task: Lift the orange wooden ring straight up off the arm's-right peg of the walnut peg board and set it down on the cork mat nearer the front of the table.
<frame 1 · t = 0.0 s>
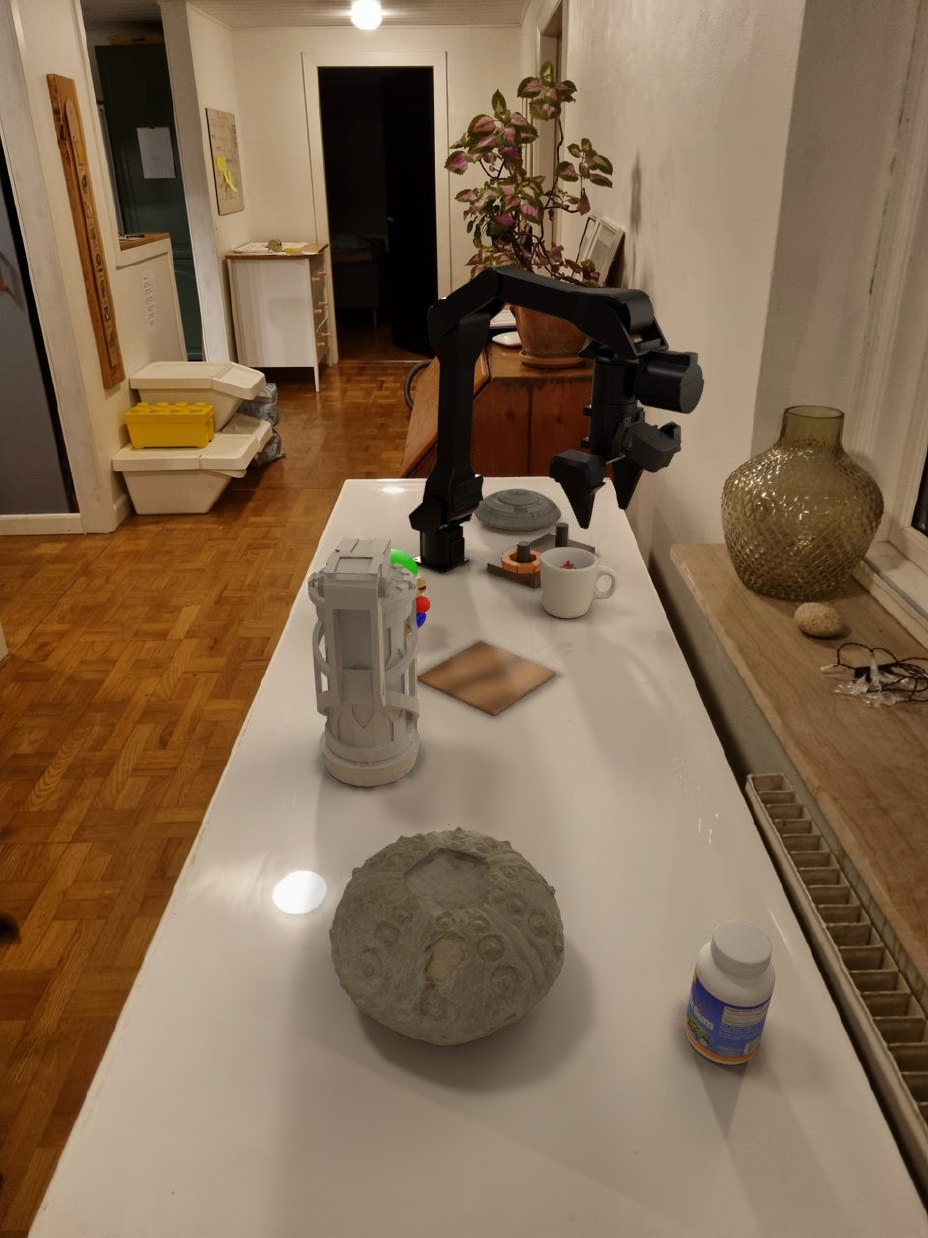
hand: (603, 518, 120), 15 cm above the table, tool pointing down, fingers open, 9 cm apart
flying saucer: (517, 521, 159), on the table
cork mat: (486, 677, 112), on the table
cup: (575, 612, 128), on the table
ring: (522, 564, 139), point 1 cm above the table, touching peg board
lantern: (369, 767, 96), on the table
pill bottle: (721, 1037, 68), on the table
peg board: (541, 563, 143), on the table
figurine: (392, 638, 121), on the table
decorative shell: (447, 975, 73), on the table
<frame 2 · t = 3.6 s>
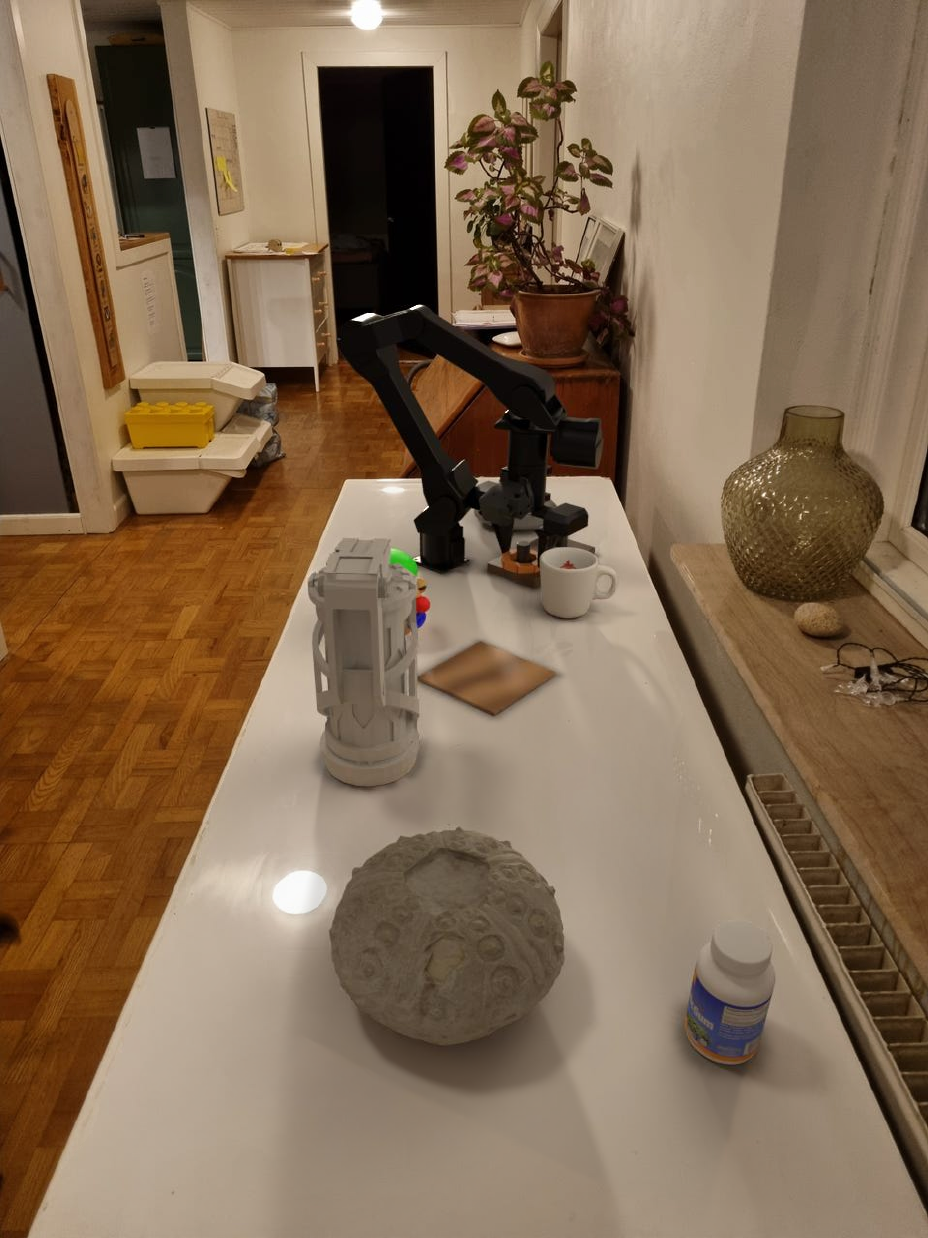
hand: (522, 560, 138), 2 cm above the table, tool pointing down, fingers closed on ring, 6 cm apart
ring: (522, 564, 139), point 2 cm above the table, touching gripper, peg board
everything else where it was.
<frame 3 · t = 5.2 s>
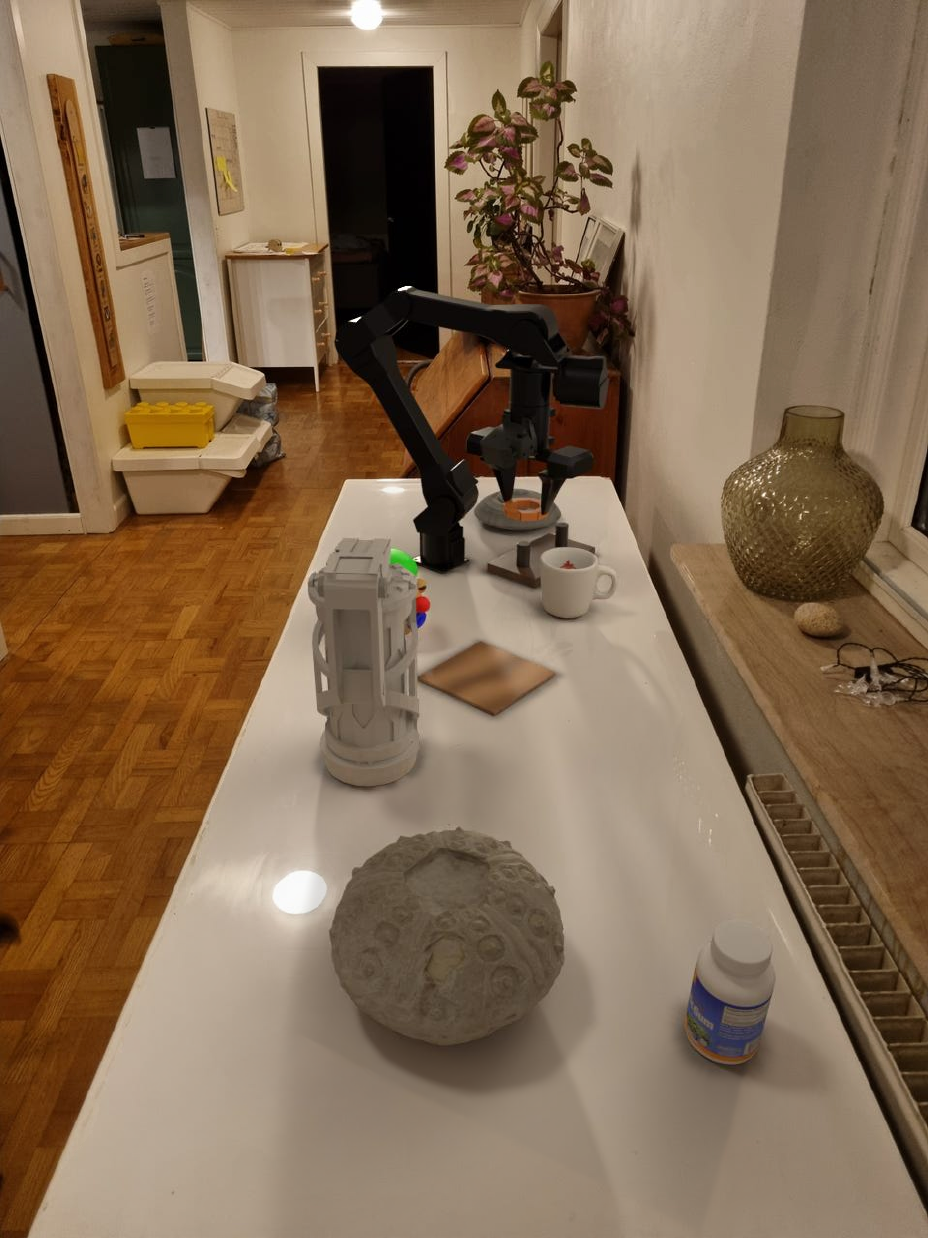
hand: (525, 508, 134), 11 cm above the table, tool pointing down, fingers closed on ring, 6 cm apart
ring: (525, 512, 134), point 10 cm above the table, touching gripper
everything else where it was.
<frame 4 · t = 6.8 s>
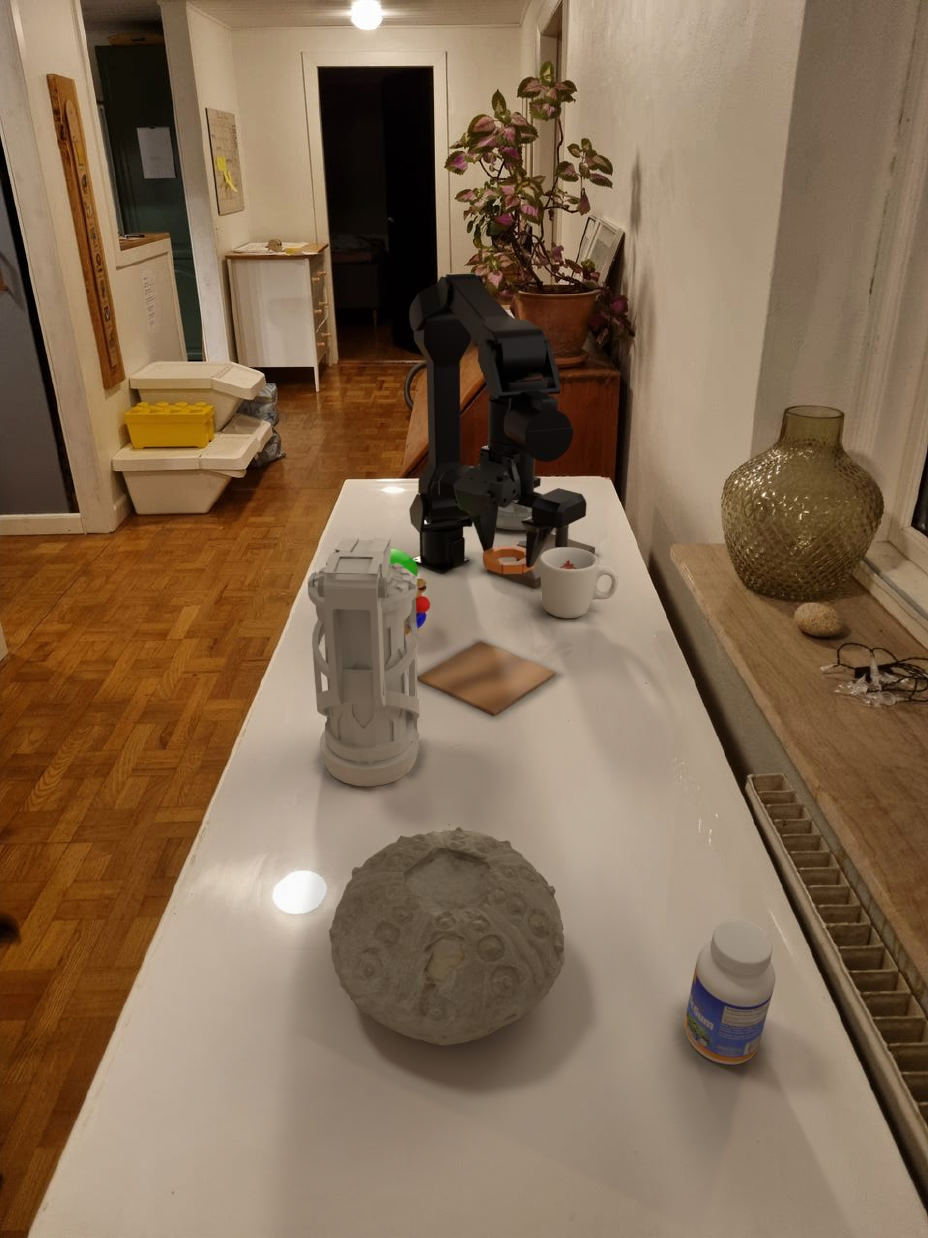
hand: (508, 559, 116), 11 cm above the table, tool pointing down, fingers closed on ring, 6 cm apart
ring: (508, 563, 116), point 11 cm above the table, touching gripper
everything else where it was.
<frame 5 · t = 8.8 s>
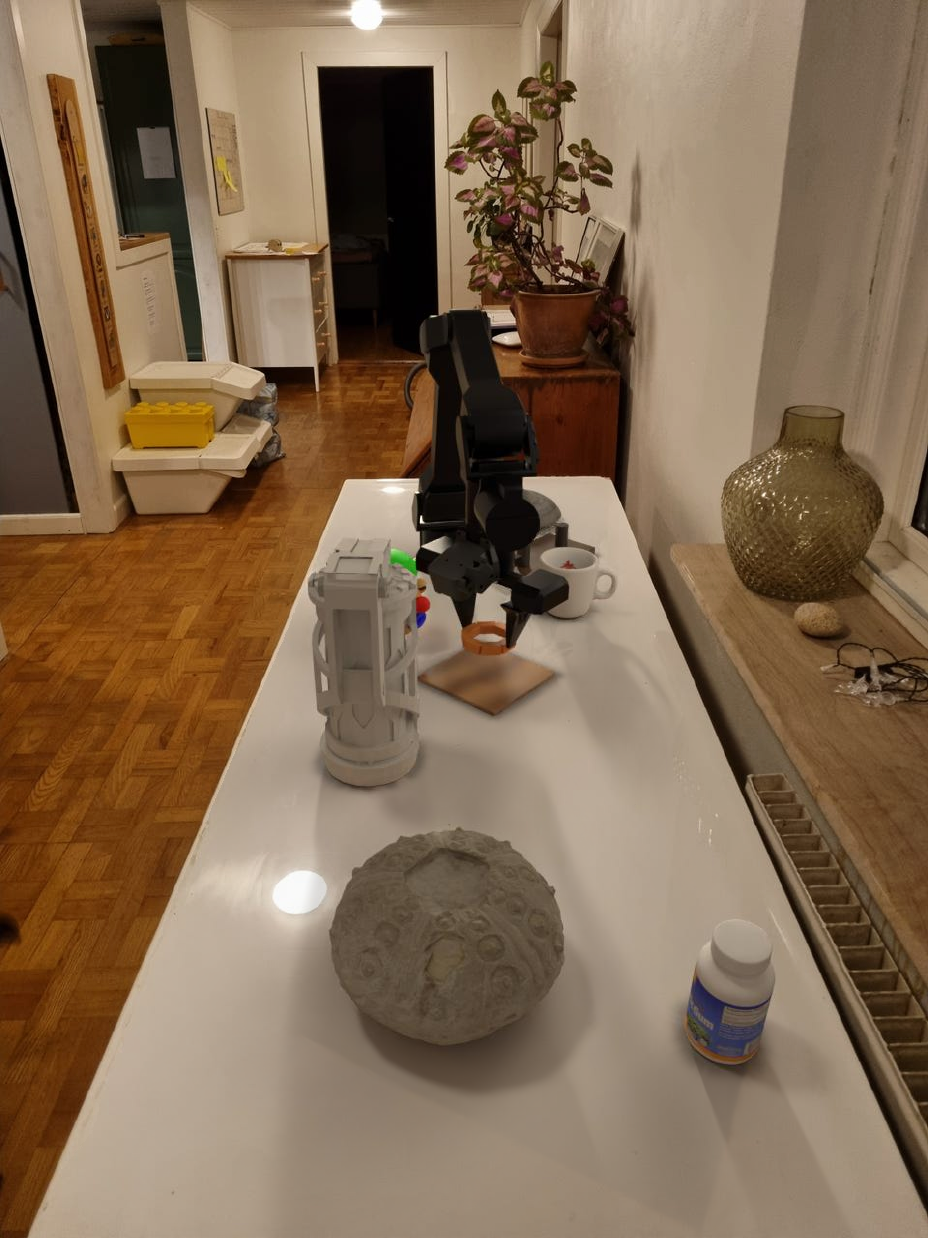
hand: (488, 638, 110), 5 cm above the table, tool pointing down, fingers closed on ring, 6 cm apart
ring: (488, 642, 110), point 5 cm above the table, touching gripper
everything else where it was.
when the fingers open (1 cm above the table, at t = 10.4 s): ring stays where it is, resting on cork mat.
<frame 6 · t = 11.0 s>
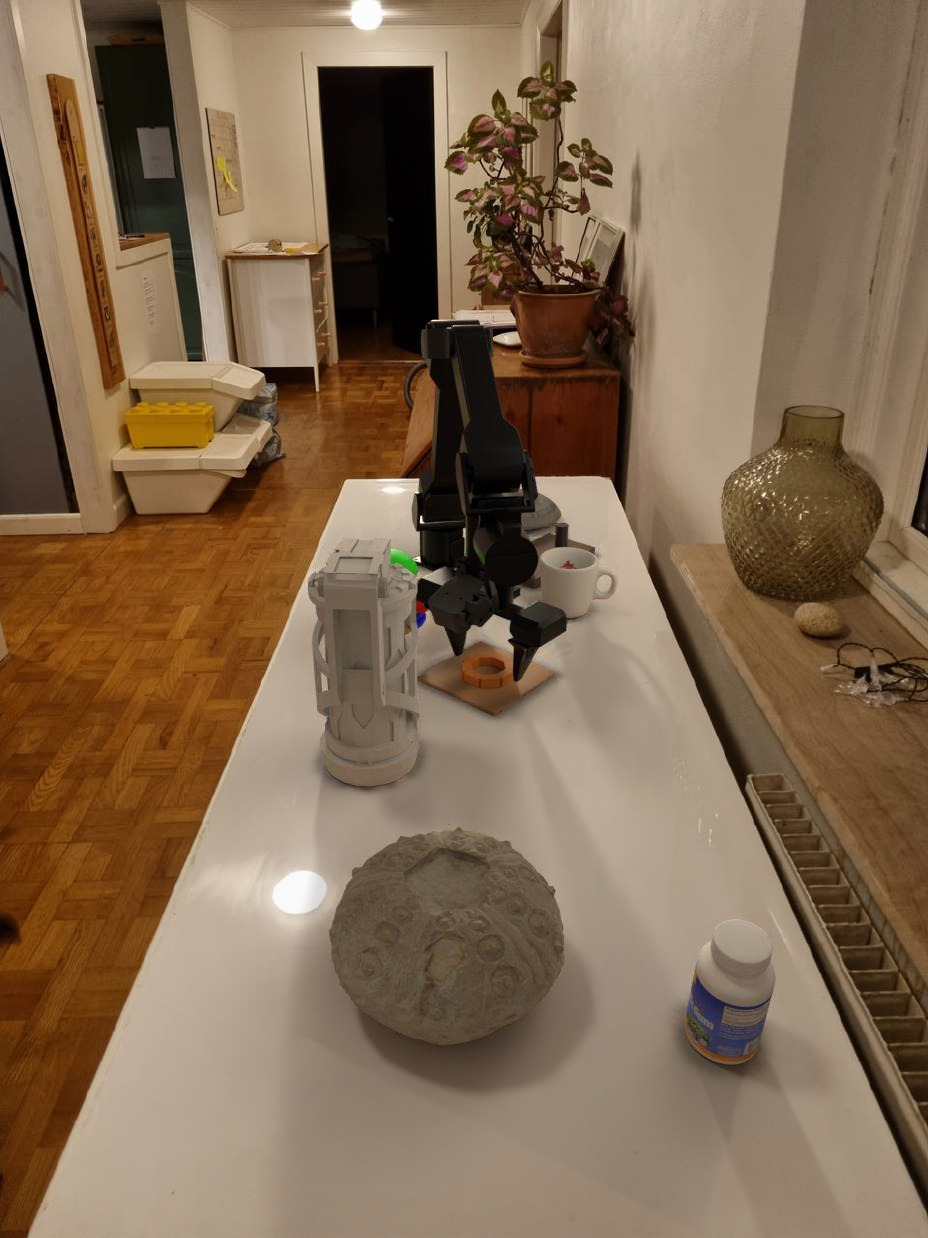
hand: (487, 667, 112), 1 cm above the table, tool pointing down, fingers open, 9 cm apart
ring: (487, 674, 112), resting on cork mat
everything else where it was.
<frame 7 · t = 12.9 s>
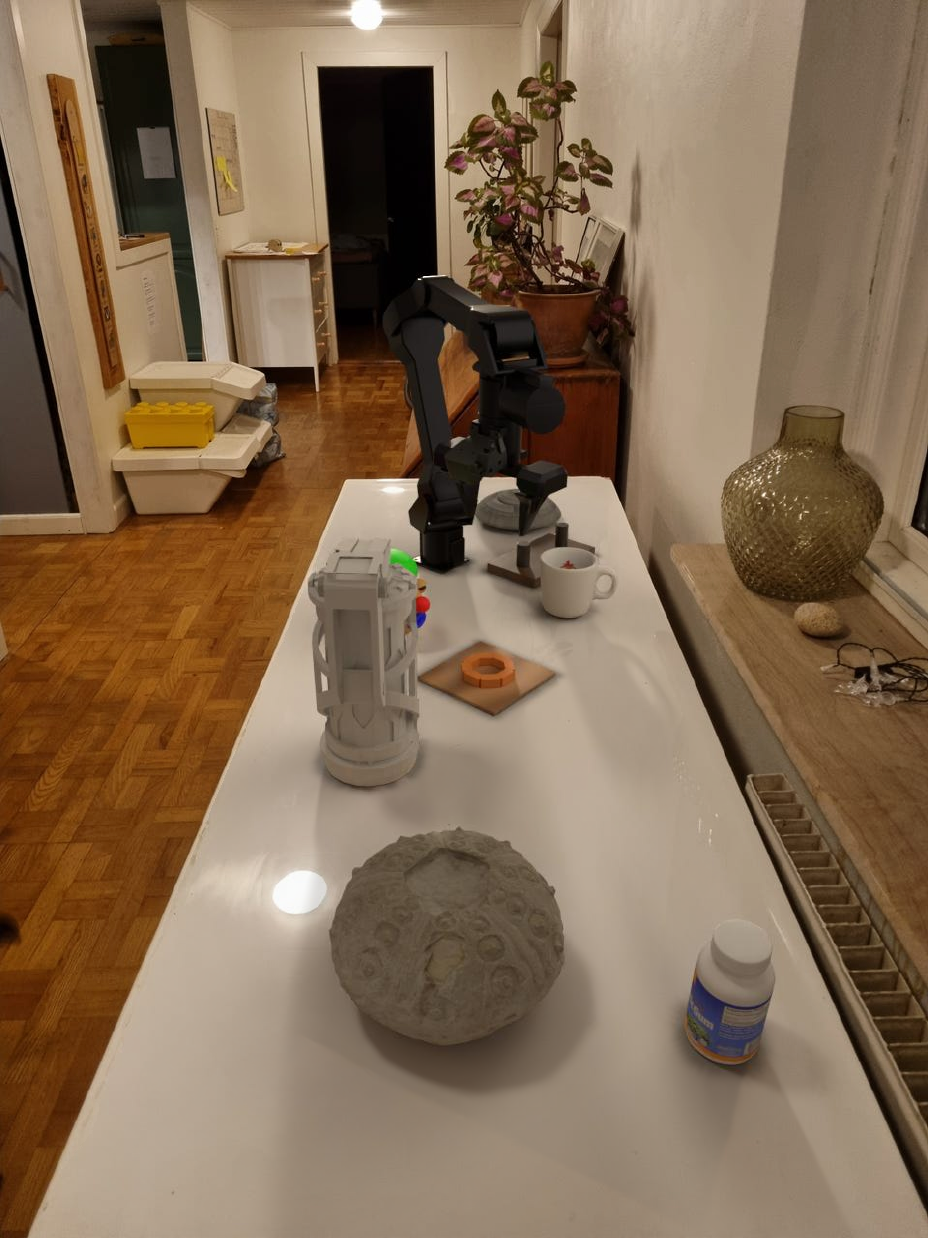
hand: (496, 526, 125), 12 cm above the table, tool pointing down, fingers open, 9 cm apart
nothing on the table moved.
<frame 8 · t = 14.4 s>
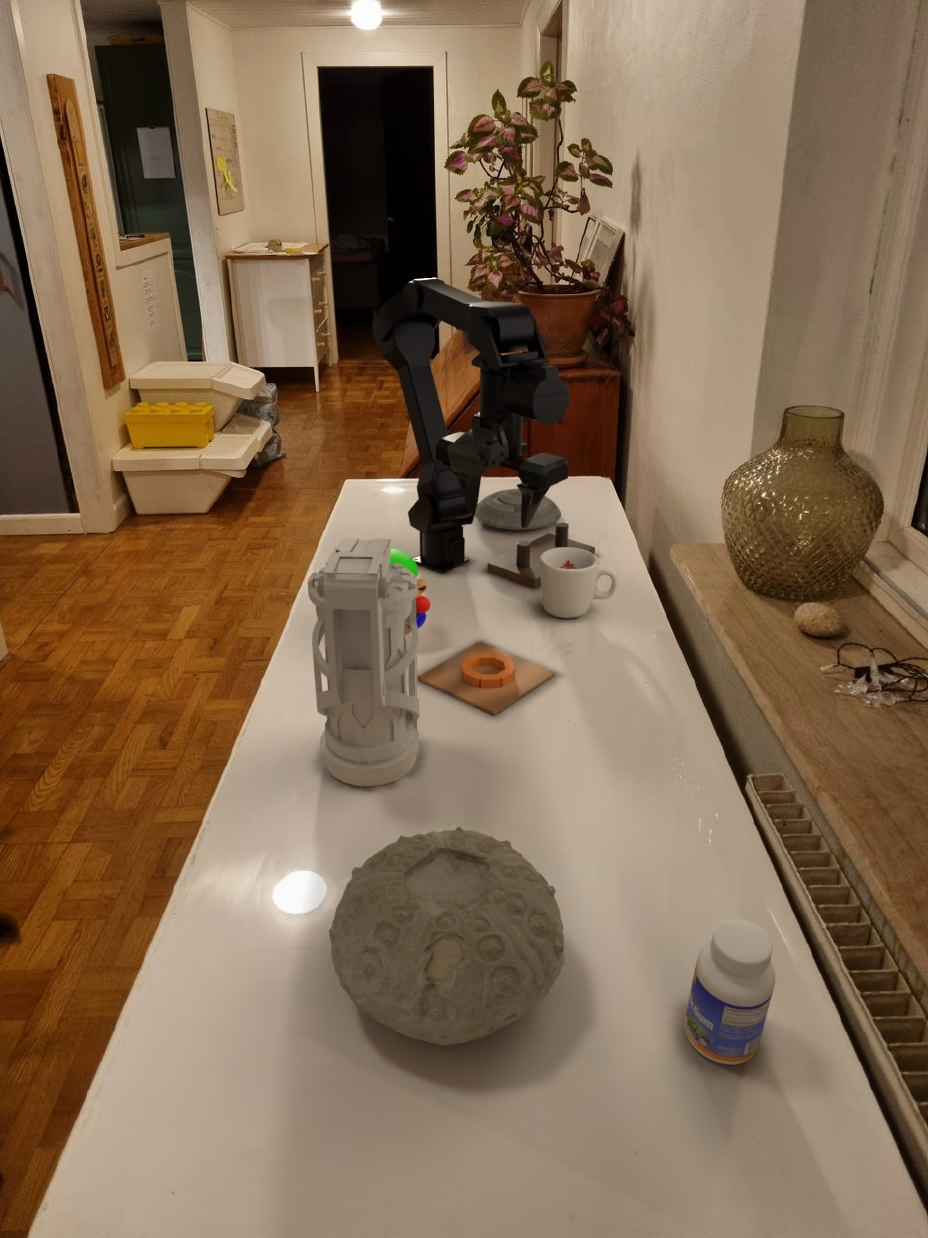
hand: (498, 519, 126), 12 cm above the table, tool pointing down, fingers open, 9 cm apart
nothing on the table moved.
at the end: ring inside the target area on the cork mat (0.1 cm from its centre), point 0.4 cm above the cork mat's base; the gripper is holding nothing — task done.
